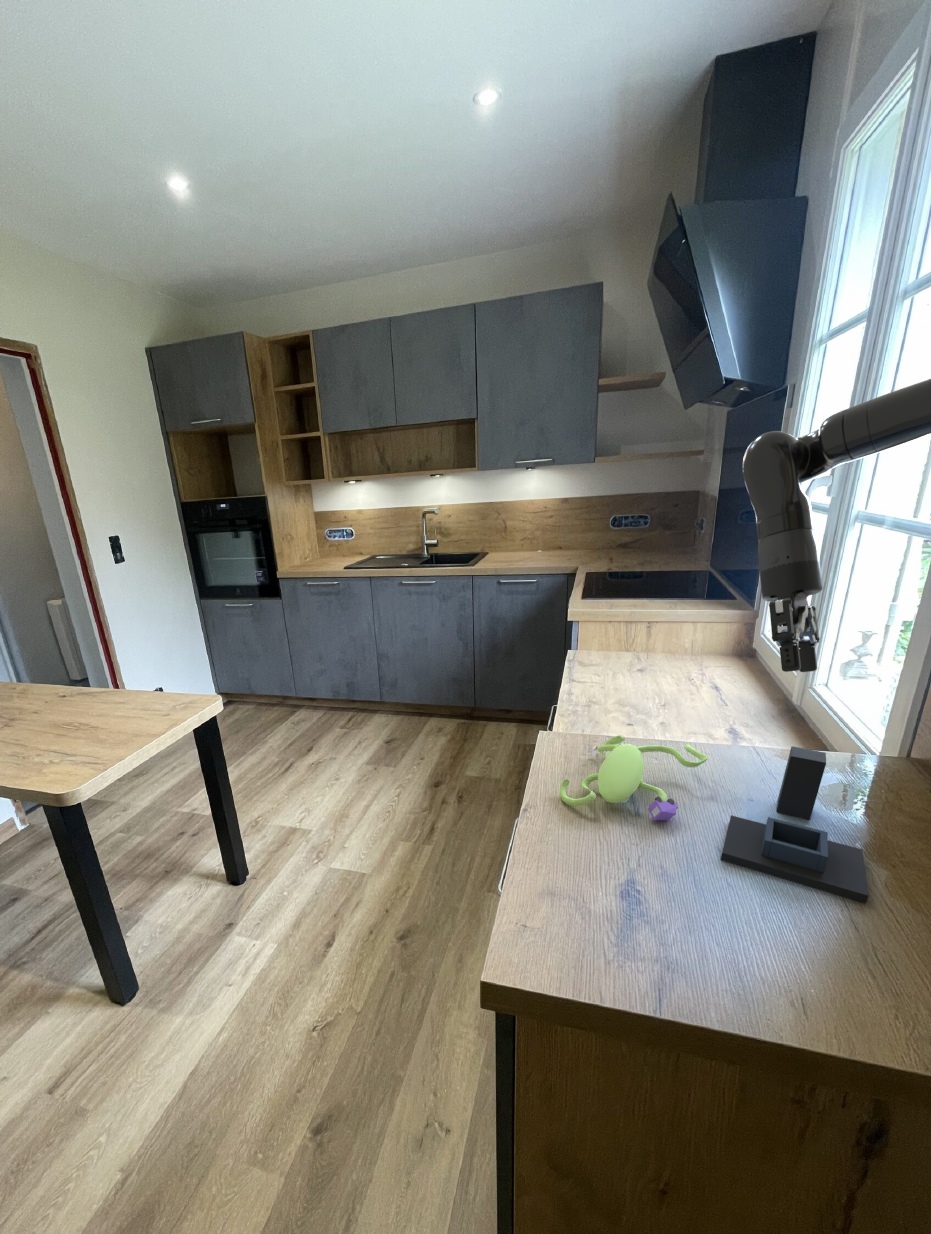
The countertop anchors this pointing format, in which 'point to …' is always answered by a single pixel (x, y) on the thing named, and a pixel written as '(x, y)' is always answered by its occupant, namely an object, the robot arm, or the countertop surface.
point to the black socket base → (796, 856)
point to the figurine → (630, 776)
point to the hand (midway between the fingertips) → (800, 671)
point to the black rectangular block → (801, 782)
